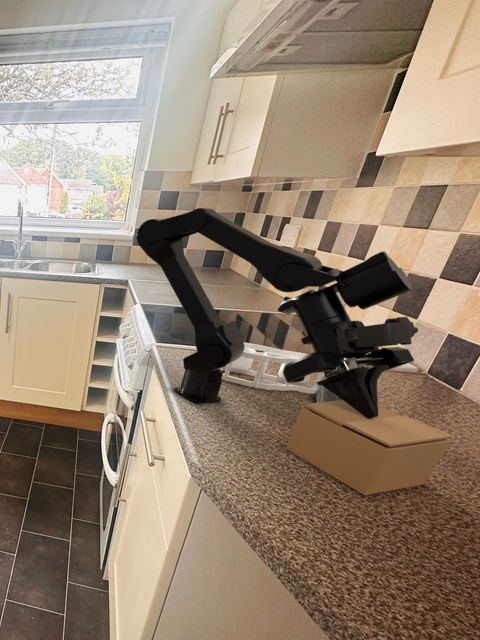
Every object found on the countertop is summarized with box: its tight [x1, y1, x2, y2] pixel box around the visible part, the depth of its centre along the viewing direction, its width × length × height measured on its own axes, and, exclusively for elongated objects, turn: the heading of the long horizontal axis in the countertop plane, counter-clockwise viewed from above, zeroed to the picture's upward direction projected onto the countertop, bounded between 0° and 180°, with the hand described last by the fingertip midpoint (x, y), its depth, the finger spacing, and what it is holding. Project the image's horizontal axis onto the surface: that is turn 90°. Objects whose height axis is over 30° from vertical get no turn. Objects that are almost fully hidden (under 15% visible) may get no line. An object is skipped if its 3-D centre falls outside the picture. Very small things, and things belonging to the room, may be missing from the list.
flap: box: [303, 400, 400, 426], centre depth 64 cm, size 6×12×1 cm, turn 104°
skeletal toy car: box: [220, 342, 324, 395], centre depth 93 cm, size 20×11×7 cm, turn 54°
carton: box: [285, 407, 454, 496], centre depth 63 cm, size 12×12×8 cm
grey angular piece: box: [315, 385, 342, 403], centre depth 84 cm, size 10×7×12 cm
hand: (373, 417), depth 61 cm, fingers closed, pressing on flap
